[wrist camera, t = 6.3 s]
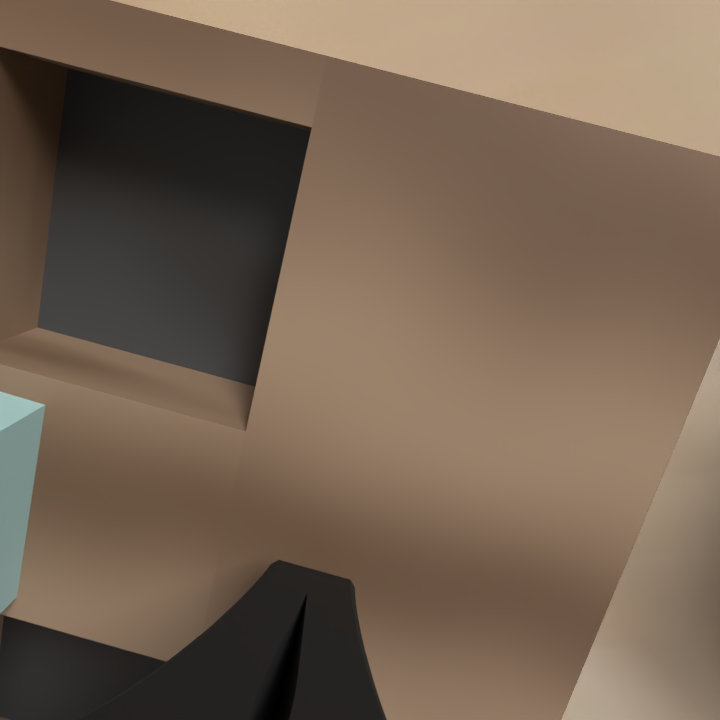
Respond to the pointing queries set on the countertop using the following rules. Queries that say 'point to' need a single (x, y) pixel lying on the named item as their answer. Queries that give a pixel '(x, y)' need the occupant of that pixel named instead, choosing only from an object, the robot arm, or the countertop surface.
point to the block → (16, 484)
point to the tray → (330, 356)
